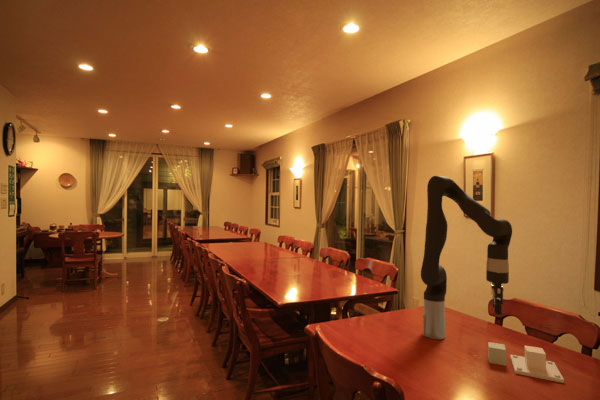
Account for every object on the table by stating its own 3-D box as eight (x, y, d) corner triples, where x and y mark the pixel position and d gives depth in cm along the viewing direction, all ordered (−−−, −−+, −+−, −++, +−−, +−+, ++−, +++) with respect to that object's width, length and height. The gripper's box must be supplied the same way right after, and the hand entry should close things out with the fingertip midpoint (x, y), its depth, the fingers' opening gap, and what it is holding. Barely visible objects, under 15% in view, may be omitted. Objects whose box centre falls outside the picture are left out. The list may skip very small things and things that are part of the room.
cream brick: (527, 367, 118) (527, 351, 118) (524, 361, 123) (524, 345, 123) (546, 371, 115) (545, 354, 115) (542, 364, 120) (542, 348, 120)
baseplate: (515, 373, 116) (515, 368, 116) (510, 357, 128) (510, 353, 128) (564, 383, 109) (563, 378, 109) (554, 365, 122) (553, 361, 122)
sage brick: (489, 362, 124) (488, 347, 124) (488, 356, 129) (488, 341, 129) (506, 366, 121) (506, 350, 122) (504, 359, 126) (504, 344, 127)
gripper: (485, 265, 134) (484, 304, 134) (487, 272, 121) (487, 314, 121) (506, 267, 131) (506, 307, 130) (511, 274, 118) (510, 318, 118)
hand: (496, 310), depth 126 cm, fingers open, 8 cm apart
